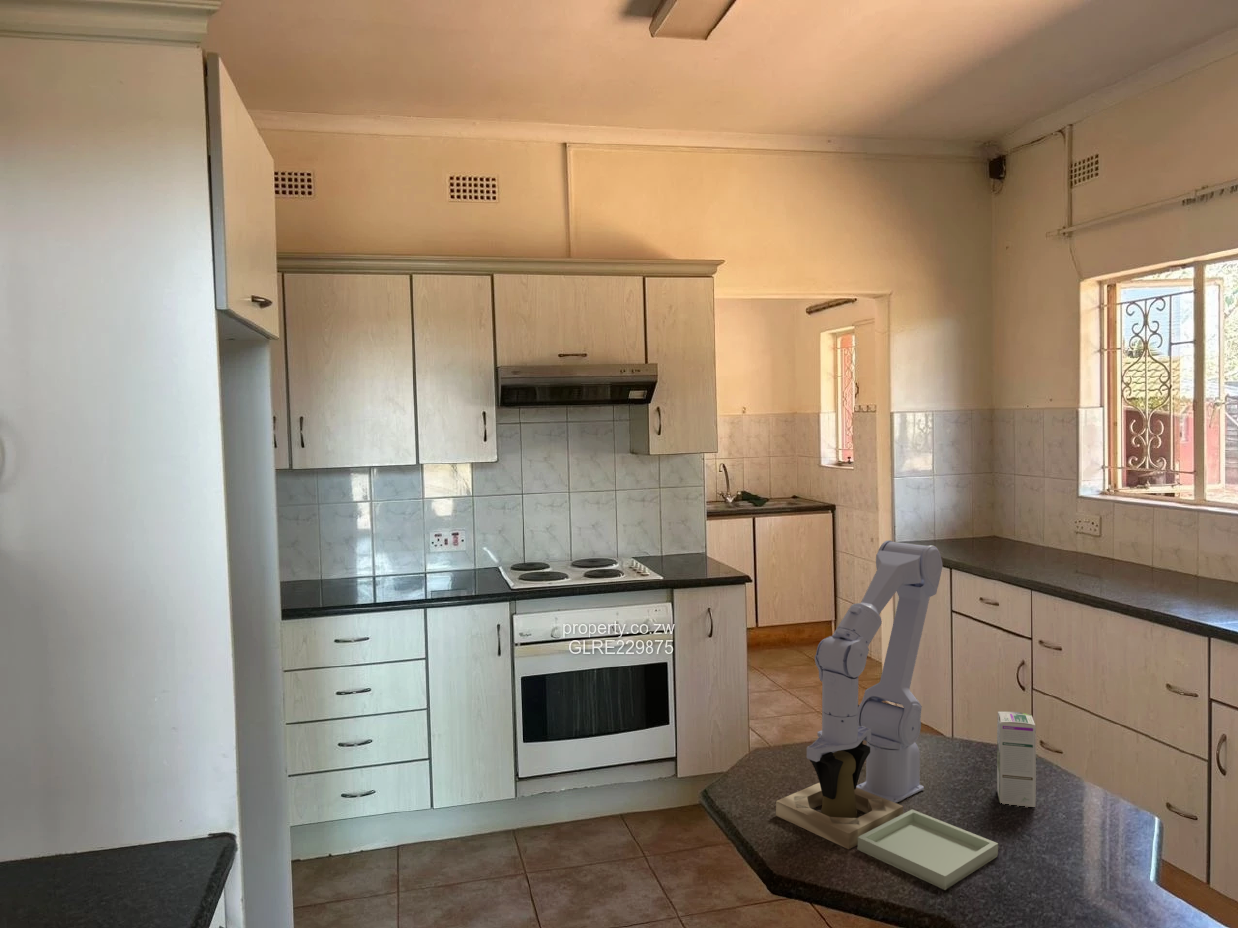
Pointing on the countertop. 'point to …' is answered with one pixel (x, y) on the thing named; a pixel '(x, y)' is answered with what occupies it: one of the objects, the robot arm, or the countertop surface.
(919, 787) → the robot arm
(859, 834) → the socket board
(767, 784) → the countertop surface
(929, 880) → the bin
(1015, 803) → the syrup box
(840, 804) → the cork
